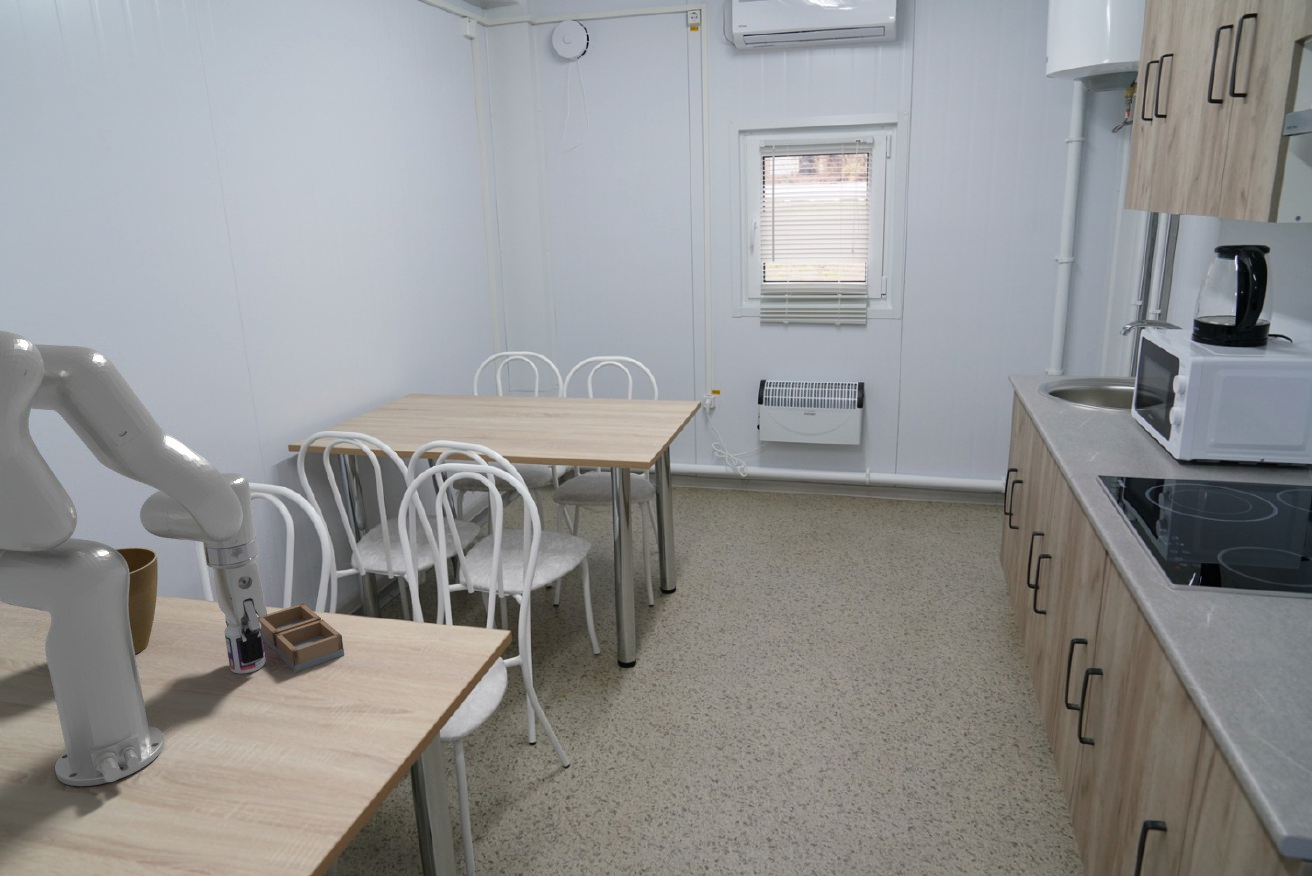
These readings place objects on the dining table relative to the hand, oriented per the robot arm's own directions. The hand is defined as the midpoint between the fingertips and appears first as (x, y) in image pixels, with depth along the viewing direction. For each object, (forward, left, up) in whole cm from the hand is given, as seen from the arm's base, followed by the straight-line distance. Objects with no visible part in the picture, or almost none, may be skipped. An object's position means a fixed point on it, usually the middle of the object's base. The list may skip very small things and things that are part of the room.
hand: (246, 652), depth 138 cm
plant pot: (+21, +14, -3) cm, 25 cm away
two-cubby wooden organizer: (+1, -9, -2) cm, 9 cm away
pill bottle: (0, 0, -3) cm, 3 cm away
